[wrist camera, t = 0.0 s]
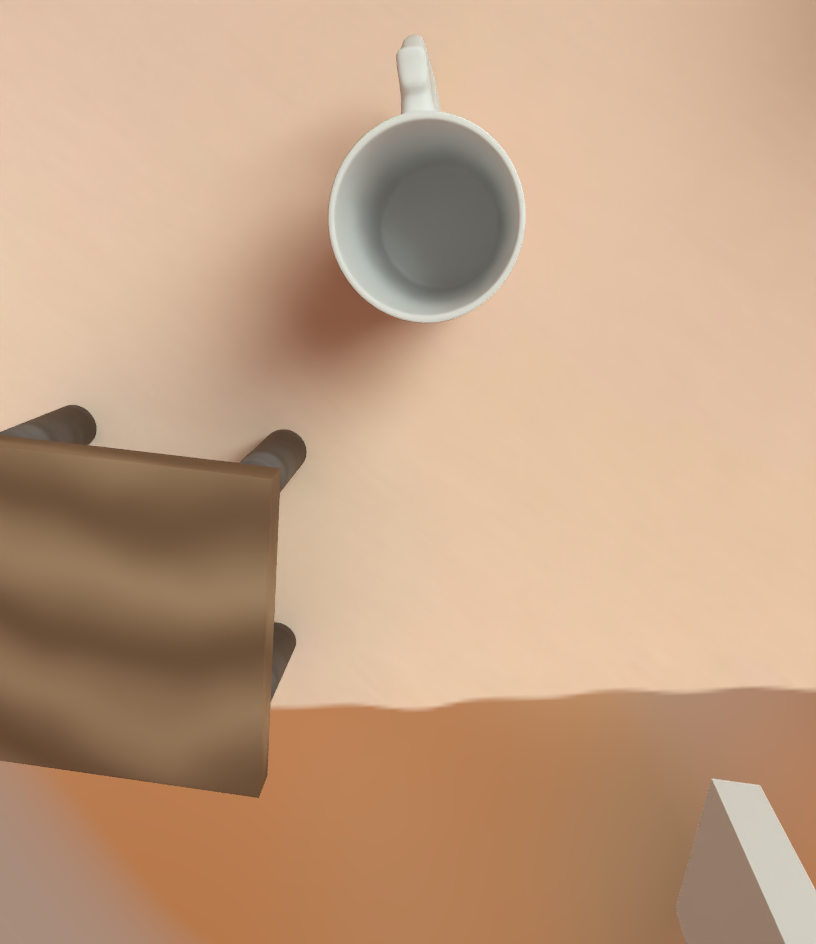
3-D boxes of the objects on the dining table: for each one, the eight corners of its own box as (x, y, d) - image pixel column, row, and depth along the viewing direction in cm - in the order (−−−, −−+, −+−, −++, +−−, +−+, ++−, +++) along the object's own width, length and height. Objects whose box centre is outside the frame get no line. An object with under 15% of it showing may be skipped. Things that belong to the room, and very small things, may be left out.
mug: (513, 291, 36) (531, 313, 25) (382, 305, 37) (341, 332, 26) (499, 69, 34) (512, -21, 22) (357, 89, 34) (299, 12, 23)
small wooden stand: (39, 387, 40) (-105, 433, 30) (322, 419, 39) (271, 479, 29) (54, 639, 45) (-65, 751, 35) (307, 673, 44) (258, 797, 34)
